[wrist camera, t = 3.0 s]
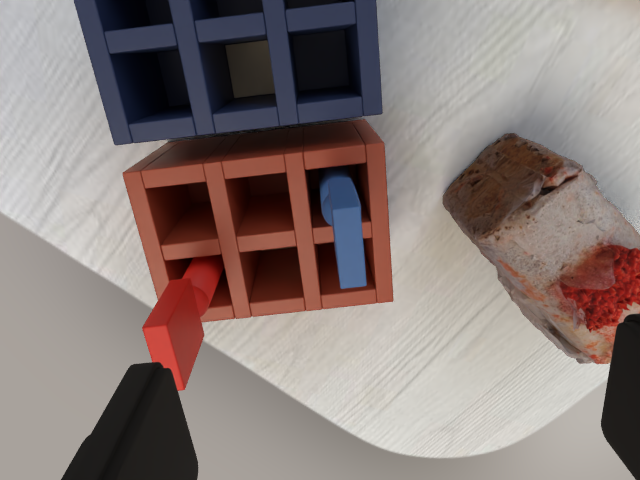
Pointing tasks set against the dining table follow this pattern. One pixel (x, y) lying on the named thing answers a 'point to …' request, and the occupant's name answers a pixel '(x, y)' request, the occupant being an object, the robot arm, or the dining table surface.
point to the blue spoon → (344, 223)
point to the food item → (551, 243)
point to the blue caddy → (230, 64)
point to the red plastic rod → (182, 317)
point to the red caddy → (263, 216)
